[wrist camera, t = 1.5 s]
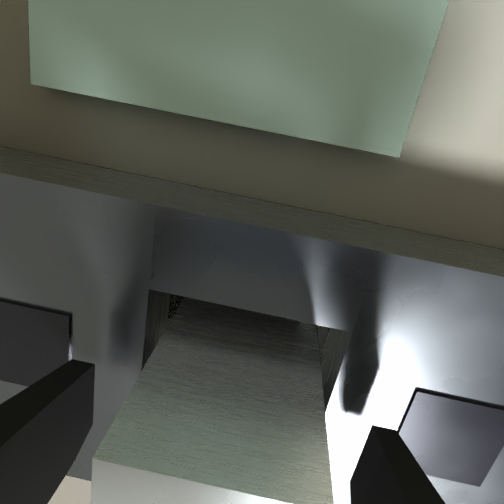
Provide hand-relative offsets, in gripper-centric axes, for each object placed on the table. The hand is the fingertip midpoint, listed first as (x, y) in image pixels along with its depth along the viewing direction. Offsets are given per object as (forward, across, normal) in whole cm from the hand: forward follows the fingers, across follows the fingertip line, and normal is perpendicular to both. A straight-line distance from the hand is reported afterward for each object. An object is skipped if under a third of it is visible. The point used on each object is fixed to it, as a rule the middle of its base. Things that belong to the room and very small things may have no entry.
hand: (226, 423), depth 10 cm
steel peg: (+4, 0, 0) cm, 4 cm away
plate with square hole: (+4, 0, 0) cm, 4 cm away
